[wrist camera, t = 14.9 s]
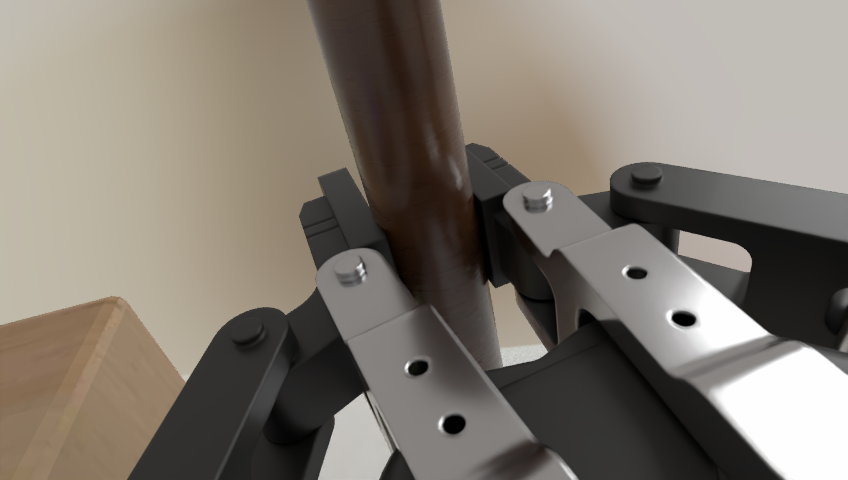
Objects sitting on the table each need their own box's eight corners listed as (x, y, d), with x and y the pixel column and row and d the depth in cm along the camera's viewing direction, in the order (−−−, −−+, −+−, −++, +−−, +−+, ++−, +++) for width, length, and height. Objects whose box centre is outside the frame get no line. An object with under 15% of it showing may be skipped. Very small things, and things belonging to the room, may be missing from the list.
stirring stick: (524, 428, 19) (430, -188, 9) (600, 548, 16) (588, -259, 5) (408, 482, 19) (163, -126, 8) (460, 623, 15) (134, -159, 5)
